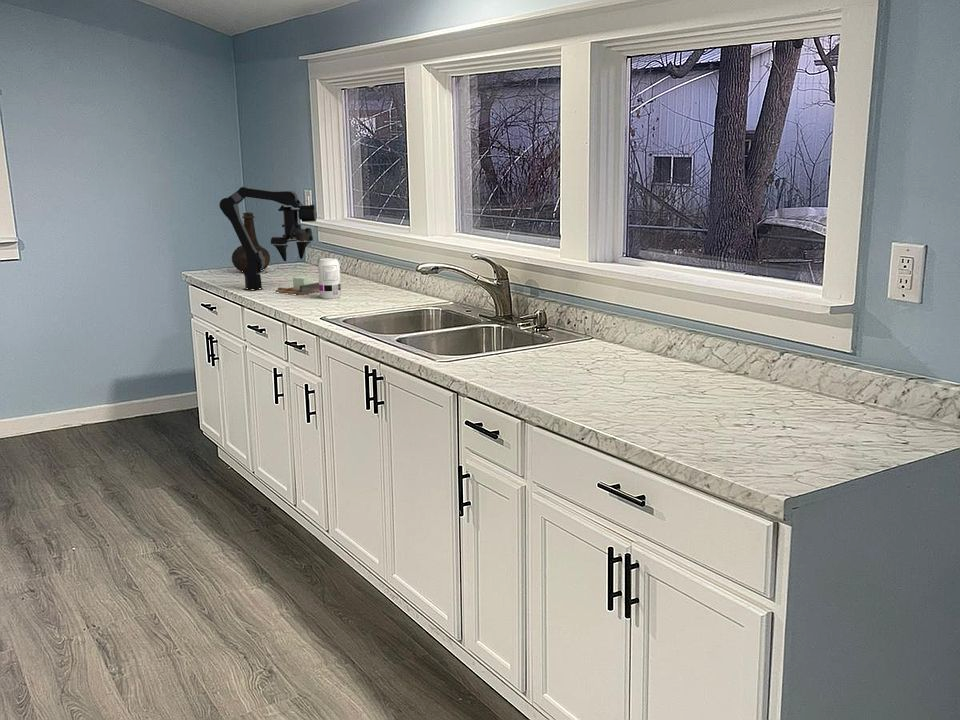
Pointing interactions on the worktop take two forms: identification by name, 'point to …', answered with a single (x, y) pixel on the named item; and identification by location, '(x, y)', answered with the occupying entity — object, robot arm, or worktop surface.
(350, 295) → the worktop surface
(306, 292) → the channel board
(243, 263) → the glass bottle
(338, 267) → the supplement can
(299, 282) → the block
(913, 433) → the worktop surface
